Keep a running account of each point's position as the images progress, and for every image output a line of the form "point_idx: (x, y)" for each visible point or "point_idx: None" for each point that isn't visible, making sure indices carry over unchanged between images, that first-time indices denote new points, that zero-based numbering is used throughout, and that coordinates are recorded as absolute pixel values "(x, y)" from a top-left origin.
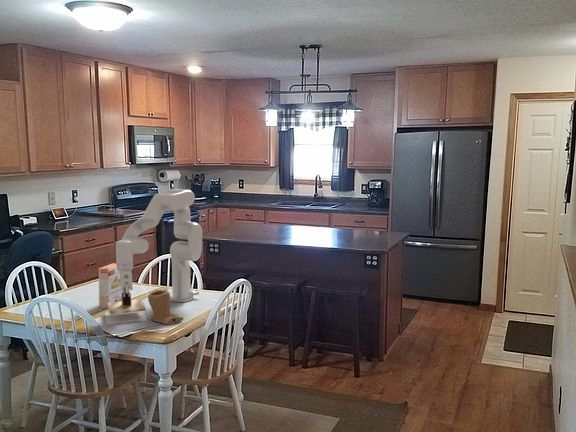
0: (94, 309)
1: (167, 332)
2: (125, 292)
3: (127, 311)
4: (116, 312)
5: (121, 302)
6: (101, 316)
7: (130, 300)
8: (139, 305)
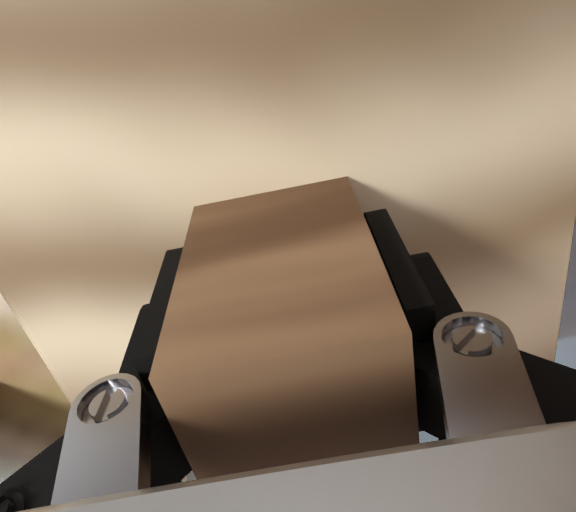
0: (7, 474)
1: None
2: (207, 460)
3: (565, 205)
4: (553, 337)
5: (105, 343)
6: None
7: (368, 242)
8: (334, 12)
